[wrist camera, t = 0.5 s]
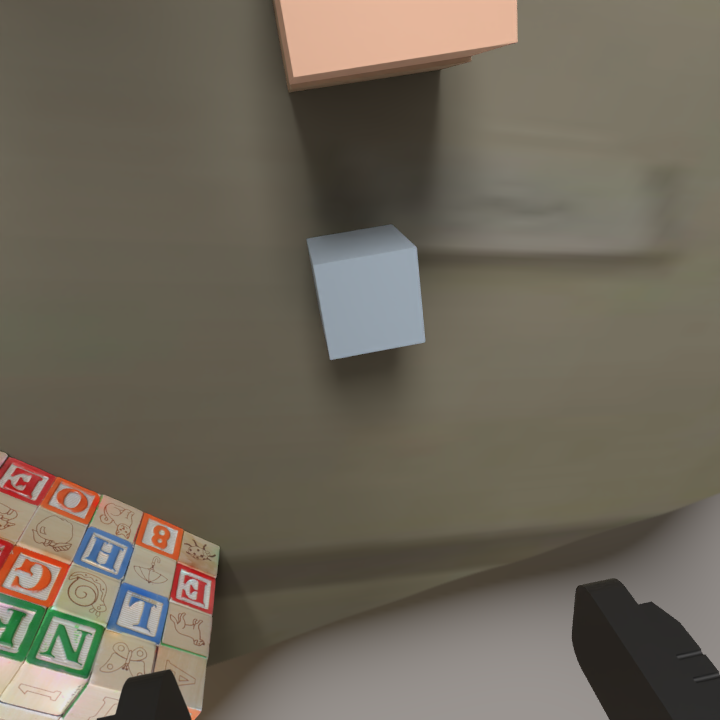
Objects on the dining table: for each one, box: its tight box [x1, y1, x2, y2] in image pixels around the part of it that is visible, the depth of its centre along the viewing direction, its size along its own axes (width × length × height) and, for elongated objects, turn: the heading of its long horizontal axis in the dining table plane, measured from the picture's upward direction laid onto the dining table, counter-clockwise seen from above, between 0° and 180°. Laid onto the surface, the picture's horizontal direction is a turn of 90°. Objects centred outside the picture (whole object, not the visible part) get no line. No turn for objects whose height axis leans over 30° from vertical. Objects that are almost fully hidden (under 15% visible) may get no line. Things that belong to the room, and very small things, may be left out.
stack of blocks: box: [0, 451, 220, 720], centre depth 30 cm, size 21×6×12 cm, turn 52°
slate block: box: [307, 224, 425, 360], centre depth 29 cm, size 5×5×6 cm
